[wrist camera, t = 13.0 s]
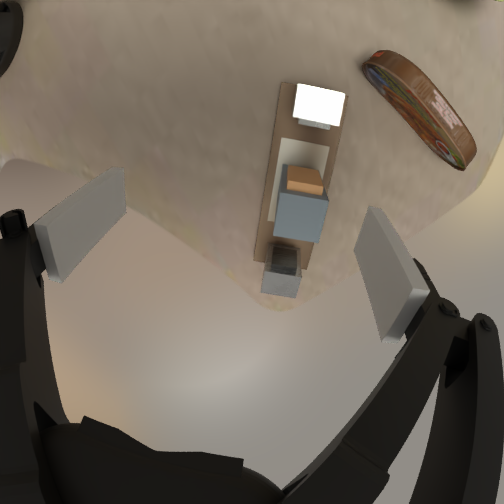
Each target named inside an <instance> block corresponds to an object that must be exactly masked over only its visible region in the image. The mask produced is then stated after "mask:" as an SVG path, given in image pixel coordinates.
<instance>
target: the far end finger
mask: <svg viewBox="0 0 504 504" xmlns="http://www.w3.org/2000/svg"><path fill="white" fill-rule="evenodd" d="M301 278H302V276H301V251H300V248H296V247H291V246H285V245H279V244H273V243H268V248H267V253H266V259H265V265H264V272H263V279H262V285H261V293H267V294H273V295H279V296H285V297H291V298H296V295H297V291H298V288H299V285H300V281H301Z"/></svg>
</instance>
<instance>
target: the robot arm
mask: <svg viewBox="0 0 504 504" xmlns="http://www.w3.org/2000/svg"><path fill="white" fill-rule="evenodd" d="M22 24H23V15H22V10H21V7H20V5H19V4H18V3H17V2H14V1H2V2H0V76H1V75H2V74H3V73H4V72H5V71H6V69H7V68H8V66H9V65H10V63H11V61H12V59H13V57H14V55H15V52H16V50H17V47H18V44H19V40H20V36H21V31H22ZM125 213H126V202H125V184H124V168H121V167H111V168H110V169H108V170H107V171H105V172H104V173H102V174H100V175H99V176H97V177H96V178H94V179H93V180H91V181H90V182H88V183H87V184H86V185H84V186H83V187H81V188H80V189H79V190H77V191H76V192H74V193H73V194H72V195H70V196H69V197H67V198H66V199H65V200H63V201H62V202H61V203H59V204H58V205H57V206H55V207H53V208H52V209H51V210H49V211H48V212H47V213H46V214H44V215H43V216H42V217H41V218H39V219H38V220H37V221H36V222H35V223H33V224H32V225H31V226H30V227H29V228H28V227H27V223H26V218H25V214H24V211H23V210H22V209H15V210H11V211H8V212H6V213H5V214H3V215H2V216H1V217H0V231H1V234H2V237H3V238H2V239H0V504H373V502H374V501H375V500H376V498H377V497H378V496H379V494H380V493H381V492H382V490H383V489H384V487H385V486H386V484H387V482H388V480H389V477H390V475H389V474H388V469H389V467H390V465H391V464H392V462H393V461H394V459H395V458H396V456H397V454H398V453H399V451H400V450H401V448H402V446H403V445H404V443H405V441H406V440H407V438H408V436H409V435H410V433H411V431H412V429H413V427H414V426H415V424H416V422H417V420H418V418H419V416H420V414H421V412H422V410H423V408H424V406H425V404H426V402H427V400H428V398H429V396H430V394H431V392H432V390H433V387H434V385H435V383H436V381H437V378H438V376H439V374H440V378H439V386H438V393H437V399H436V405H435V411H434V416H433V421H432V426H431V431H430V435H429V439H428V443H427V448H426V451H425V455H424V459H423V462H422V466H421V469H420V473H419V476H418V479H417V482H416V485H415V488H414V491H413V494H412V497H411V499H410V502H409V504H495V502H496V497H497V491H498V486H499V480H500V473H501V464H502V455H503V443H504V380H503V367H502V358H501V349H500V342H499V336H498V330H497V327H496V325H495V323H494V321H493V320H492V319H491V318H490V317H489V316H487V315H485V314H482V313H477V314H476V315H475V316H474V318H473V319H472V321H469V320H466V319H464V318H461V317H460V313H459V310H458V309H457V307H456V306H455V305H454V304H453V303H452V302H451V301H449V300H447V299H445V298H441V297H440V296H439V294H438V292H437V290H436V288H435V286H434V285H433V283H432V281H430V280H431V279H430V278H429V276H428V275H427V272H426V270H425V269H424V267H423V266H422V265H421V264H420V263H419V262H418V261H417V260H416V259H415V258H412V257H411V255H410V253H409V252H408V250H407V248H406V247H405V245H404V243H403V242H402V240H401V238H400V237H399V235H398V233H397V232H396V230H395V229H394V227H393V225H392V224H391V222H390V221H389V219H388V218H387V216H386V215H385V213H384V211H383V210H382V209H381V208H376V207H372V206H369V207H368V210H367V213H366V216H365V219H364V222H363V225H362V228H361V231H360V234H359V236H358V239H357V242H356V245H355V248H354V252H355V255H356V258H357V261H358V264H359V267H360V270H361V273H362V276H363V280H364V283H365V286H366V289H367V293H368V296H369V299H370V302H371V306H372V309H373V313H374V316H375V320H376V323H377V327H378V331H379V335H380V338H381V342H387V343H398V342H399V340H400V339H401V337H402V336H403V334H404V333H405V335H406V338H407V341H406V343H405V344H404V346H403V347H402V349H401V350H400V351H399V353H398V354H397V355H396V357H395V360H394V361H393V363H392V364H391V366H390V367H389V369H388V370H387V371H386V373H385V375H384V376H383V377H382V379H381V380H380V381H379V383H378V384H377V386H376V387H375V388H374V390H373V391H372V392H371V394H370V395H369V396H368V398H367V399H366V401H365V402H364V403H363V404H362V406H361V407H360V408H359V409H358V411H357V412H356V413H355V415H354V416H353V417H352V418H351V419H350V421H349V422H348V423H347V424H346V425H345V426H344V428H343V429H342V430H341V431H340V432H339V434H338V435H337V436H336V437H335V438H334V439H333V440H332V441H331V443H330V444H329V445H328V446H327V447H326V448H325V449H324V450H323V451H322V452H321V453H320V454H319V455H318V456H317V458H316V459H315V460H314V461H313V462H312V463H311V464H310V465H309V466H308V467H307V468H306V469H304V470H303V471H302V472H301V473H300V474H299V475H298V476H297V477H296V478H295V479H293V480H292V481H291V482H290V483H289V484H288V485H286V486H285V487H284V488H283V489H282V490H280V489H279V488H278V487H277V486H276V485H275V484H274V483H273V482H271V481H270V480H269V479H267V478H266V477H264V476H262V475H261V474H259V473H257V472H255V471H253V470H251V469H248V468H245V467H243V461H244V459H241V458H234V457H228V456H222V455H216V454H210V453H205V452H163V451H155V450H153V449H151V448H149V447H147V446H145V445H144V444H142V443H140V442H139V441H137V440H135V439H134V438H132V437H130V436H129V435H127V434H126V433H124V432H122V431H121V430H119V429H117V428H115V427H111V426H109V425H107V424H104V423H101V422H98V421H96V420H94V419H91V418H89V417H87V416H84V417H83V419H82V422H81V423H70V422H69V420H68V419H67V417H66V415H65V413H64V410H63V407H62V403H61V400H60V395H59V391H58V387H57V382H56V378H55V373H54V368H53V362H52V357H51V351H50V344H49V337H48V330H47V321H46V311H45V299H44V281H43V278H42V275H41V273H42V272H43V271H44V270H45V269H46V270H47V273H48V277H49V279H50V280H52V281H55V282H59V283H63V282H64V280H65V279H66V278H67V277H68V275H69V274H70V273H71V272H72V271H73V270H74V268H75V267H76V266H77V265H78V264H79V263H80V262H81V260H82V259H83V258H84V257H85V256H86V255H87V254H88V252H89V251H90V250H91V249H92V248H93V247H94V246H95V245H96V244H97V243H98V242H99V240H100V239H101V238H102V237H103V236H104V235H105V234H106V233H107V232H108V231H109V230H110V229H111V228H112V227H113V226H114V225H115V224H116V223H117V221H118V220H119V219H120V218H121V217H122V216H123V215H124V214H125Z"/></svg>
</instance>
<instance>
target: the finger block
mask: <svg viewBox="0 0 504 504" xmlns="http://www.w3.org/2000/svg"><path fill="white" fill-rule="evenodd" d="M328 203H329V200H328V197H327V194H326V190H325V187H324V184H323V181H322V179H321V176H320V173H319V170H314V169H309V168H303V167H298V166H292V165H286V164H282V171H281V177H280V183H279V189H278V195H277V203H276V213H275V222H274V231H273V236H278V237H284V238H291V239H297V240H303V241H308V242H314V243H318V242H319V239H320V235H321V231H322V227H323V223H324V219H325V215H326V211H327V207H328Z"/></svg>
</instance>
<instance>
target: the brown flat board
mask: <svg viewBox="0 0 504 504" xmlns="http://www.w3.org/2000/svg"><path fill="white" fill-rule="evenodd" d="M295 89H296V85H295V84H290V83H284V82H282V83H281V89H280V96H279V102H278V108H277V115H276V121H275V127H274V134H273V140H272V146H271V153H270V159H269V165H268V172H267V178H266V184H265V190H264V197H263V203H262V209H261V215H260V222H259V228H258V234H257V240H256V247H255V253H254V259H253V261H259V262H265V259H266V253H267V248H268V243H273V244H279V245H285V246H291V247H296V248H300V251H301V269H305V270H307V267H308V263H309V260H310V256H311V252H312V249H313V245H314V242H308V241H303V240H297V239H291V238H284V237H278V236H273V231H274V222H275V213H276V203H277V195H278V189H279V183H280V177H281V171H282V164H286V165H292V166H298V167H303V168H309V169H314V170H319V173H320V176H321V179H322V181H323V184H324V187H325V190H326V194H327V192H328V187H329V183H330V179H331V175H332V171H333V166H334V162H335V158H336V153H337V149H338V144H339V140H340V135H341V130H342V125H343V121H344V116H345V111H346V106H347V101H348V96H346V95H345V98H344V103H343V108H342V113H341V118H340V123H339V126H335V125H331V126H330V130H326V129H322V128H317V127H312V126H307V125H302V124H298V121H297V117H293V116H292V107H293V101H294V95H295Z"/></svg>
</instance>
